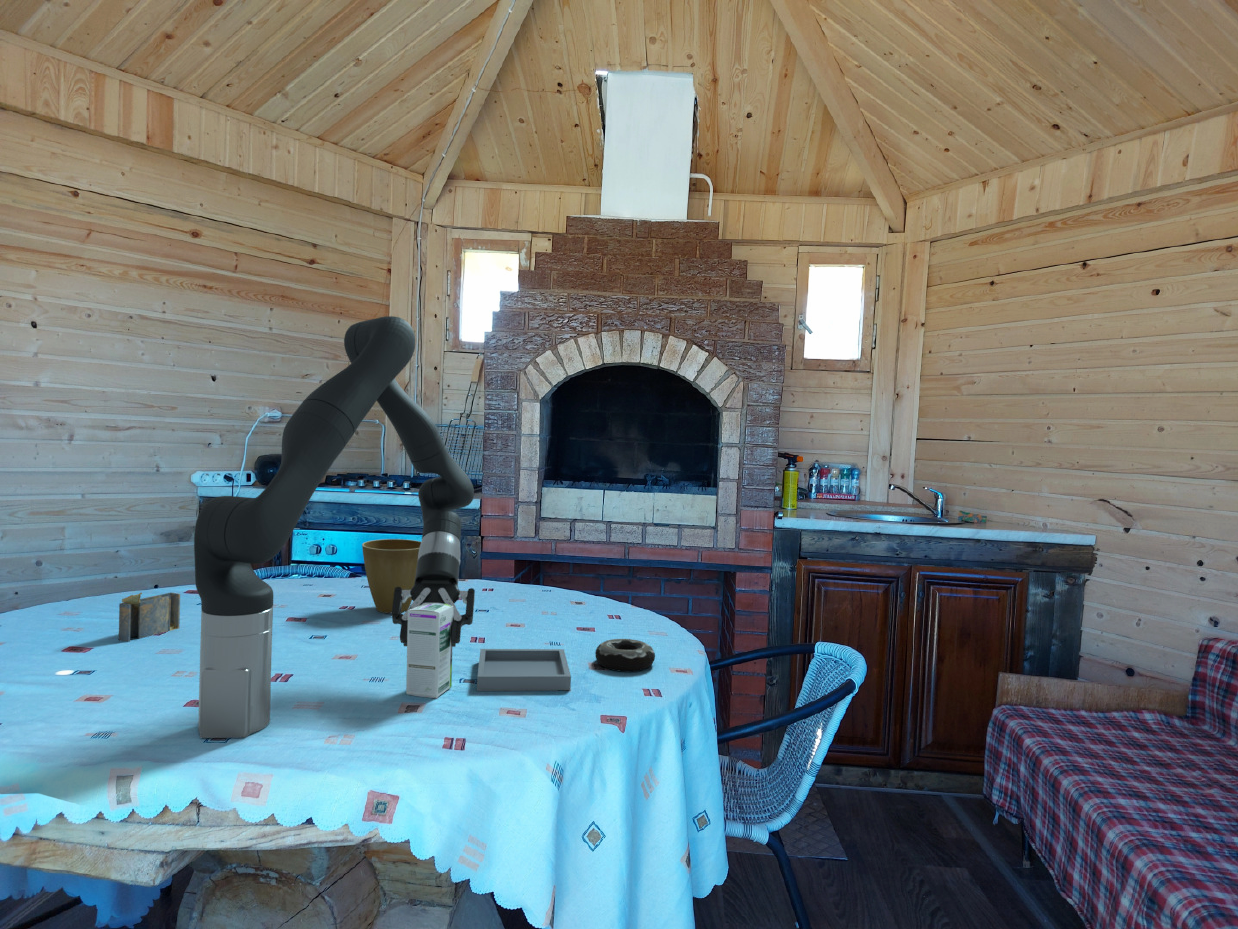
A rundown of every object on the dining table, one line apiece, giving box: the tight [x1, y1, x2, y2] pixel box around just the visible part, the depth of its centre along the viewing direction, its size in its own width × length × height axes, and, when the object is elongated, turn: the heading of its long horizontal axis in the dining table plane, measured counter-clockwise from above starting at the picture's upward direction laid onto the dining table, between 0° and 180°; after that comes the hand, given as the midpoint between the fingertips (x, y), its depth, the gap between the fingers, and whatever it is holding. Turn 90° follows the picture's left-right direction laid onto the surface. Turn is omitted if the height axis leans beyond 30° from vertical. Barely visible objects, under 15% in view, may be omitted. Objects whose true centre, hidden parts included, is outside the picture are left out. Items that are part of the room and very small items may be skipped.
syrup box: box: [405, 603, 453, 699], centre depth 125 cm, size 6×6×14 cm
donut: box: [595, 638, 656, 672], centre depth 146 cm, size 12×12×4 cm
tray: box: [476, 648, 572, 692], centre depth 136 cm, size 16×16×2 cm
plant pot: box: [361, 538, 421, 614], centre depth 178 cm, size 15×15×16 cm
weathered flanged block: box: [118, 592, 181, 643], centre depth 150 cm, size 11×3×10 cm, turn 162°
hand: (429, 644), depth 124 cm, fingers closed on syrup box, 7 cm apart
